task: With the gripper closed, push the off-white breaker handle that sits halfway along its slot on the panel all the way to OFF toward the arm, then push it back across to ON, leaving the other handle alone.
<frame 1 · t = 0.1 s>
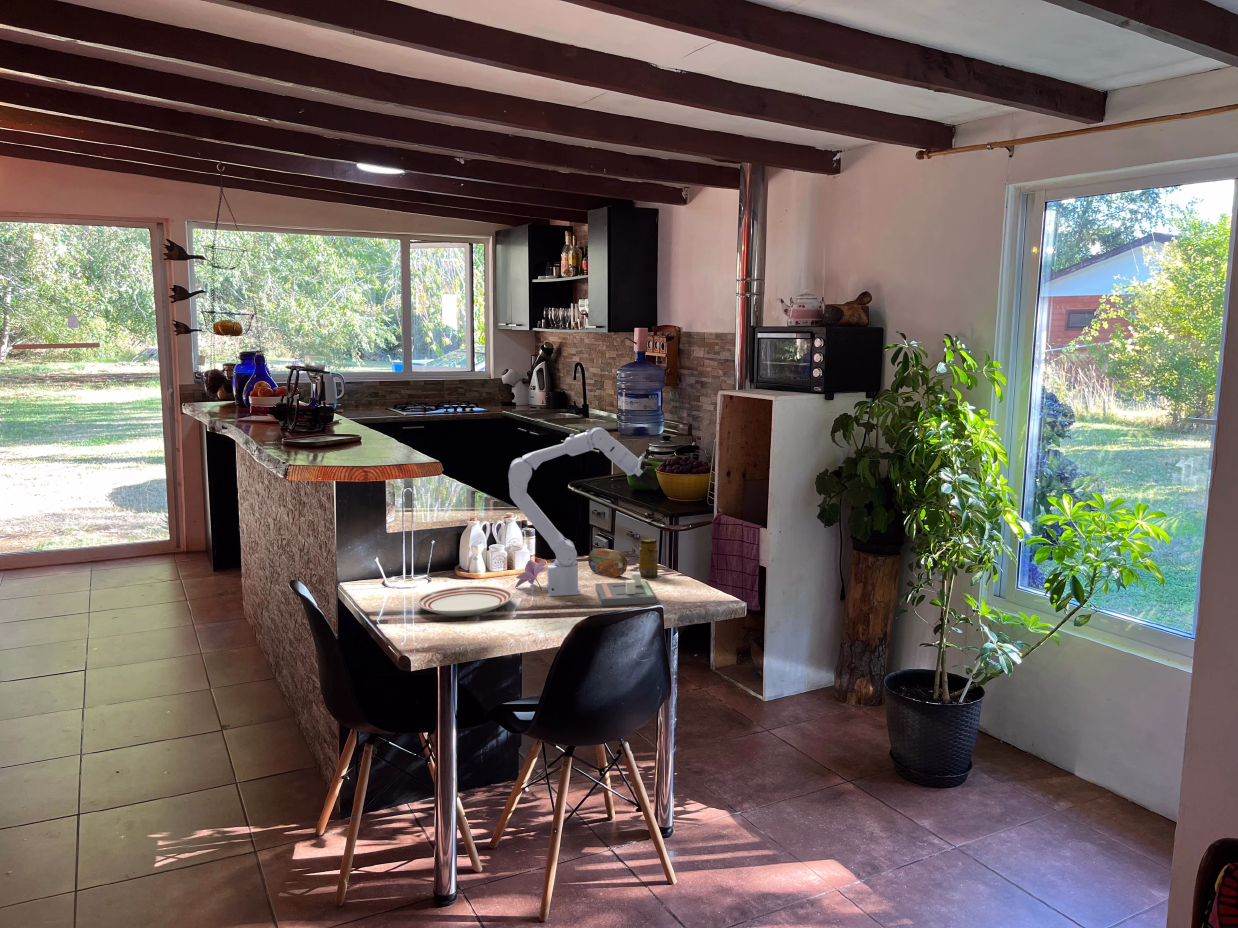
hand: (655, 485, 280), 32 cm above the table, tool tilted 50°, fingers open, 7 cm apart
dinner plate: (465, 608, 268), on the table
breaker panel: (625, 596, 276), on the table
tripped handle: (630, 586, 271), point 4 cm above the table, slide at 3.0 cm
tin: (608, 575, 302), on the table
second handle: (636, 578, 280), point 4 cm above the table, slide at 6.0 cm
condiment: (649, 577, 298), on the table
lily: (532, 588, 287), on the table
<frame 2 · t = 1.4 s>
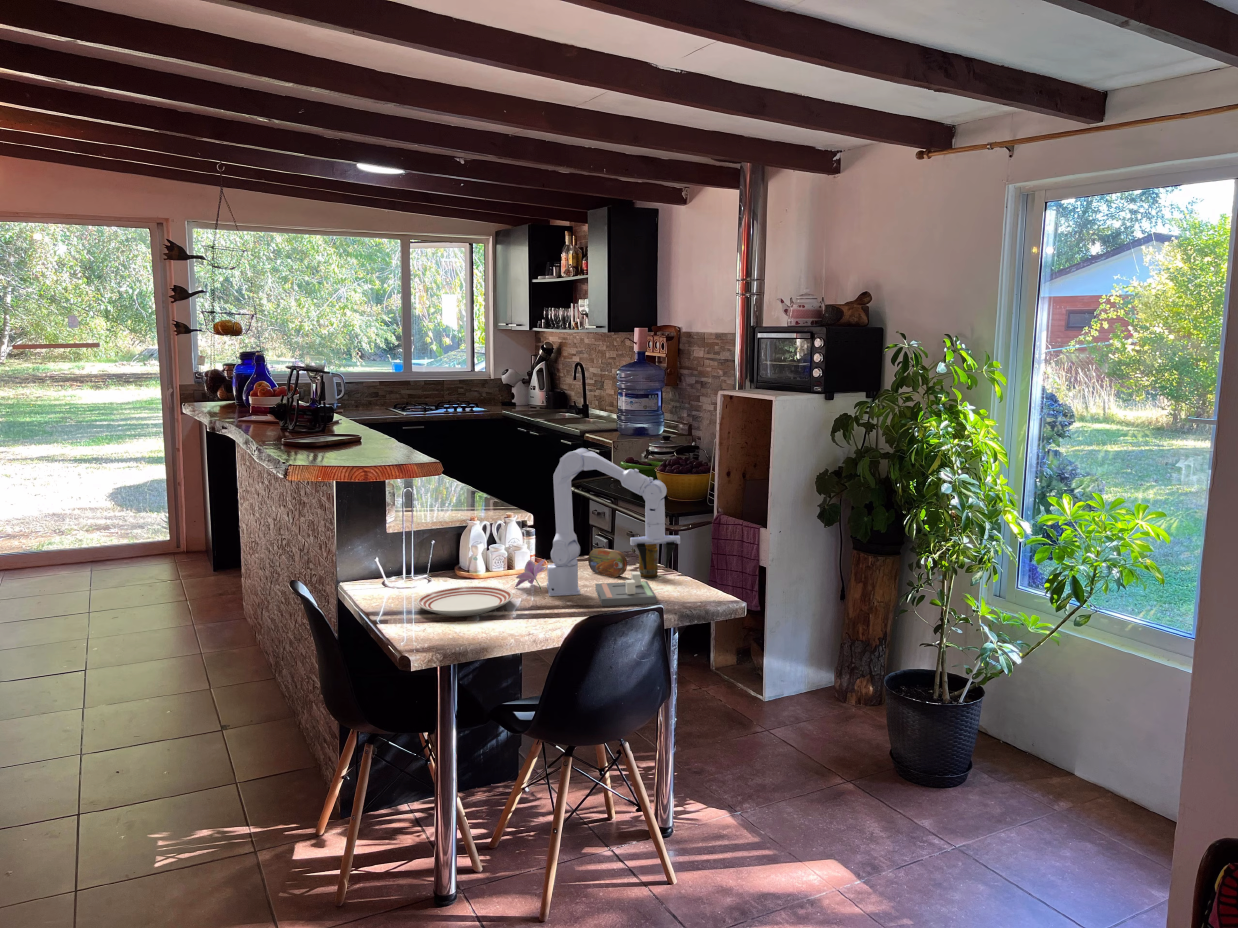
hand: (655, 567, 271), 9 cm above the table, tool pointing down, fingers open, 6 cm apart
nothing on the table moved.
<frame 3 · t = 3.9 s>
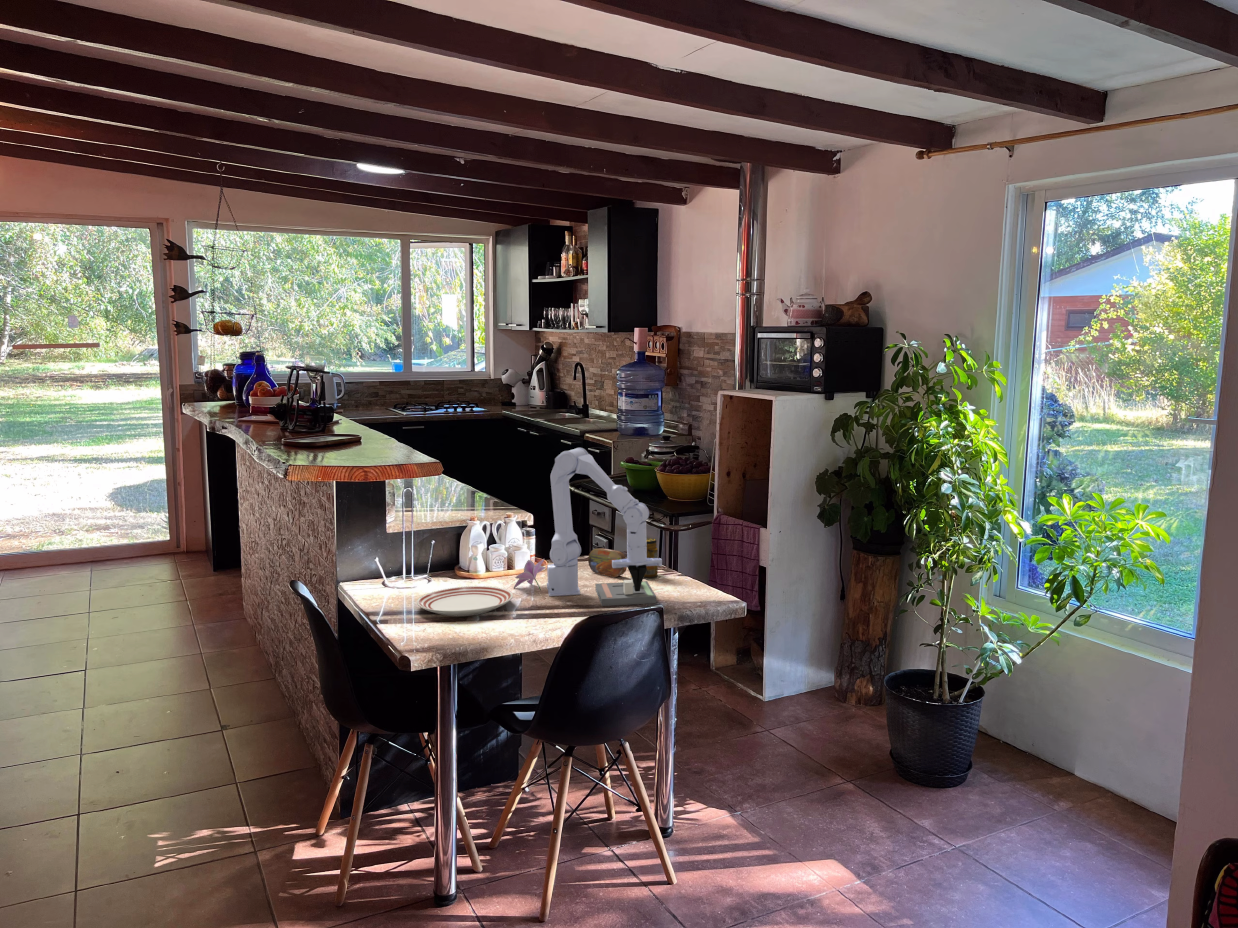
hand: (637, 590, 271), 3 cm above the table, tool pointing down, fingers closed
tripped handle: (628, 587, 271), point 4 cm above the table, slide at 2.3 cm, touching gripper
everything else where it was.
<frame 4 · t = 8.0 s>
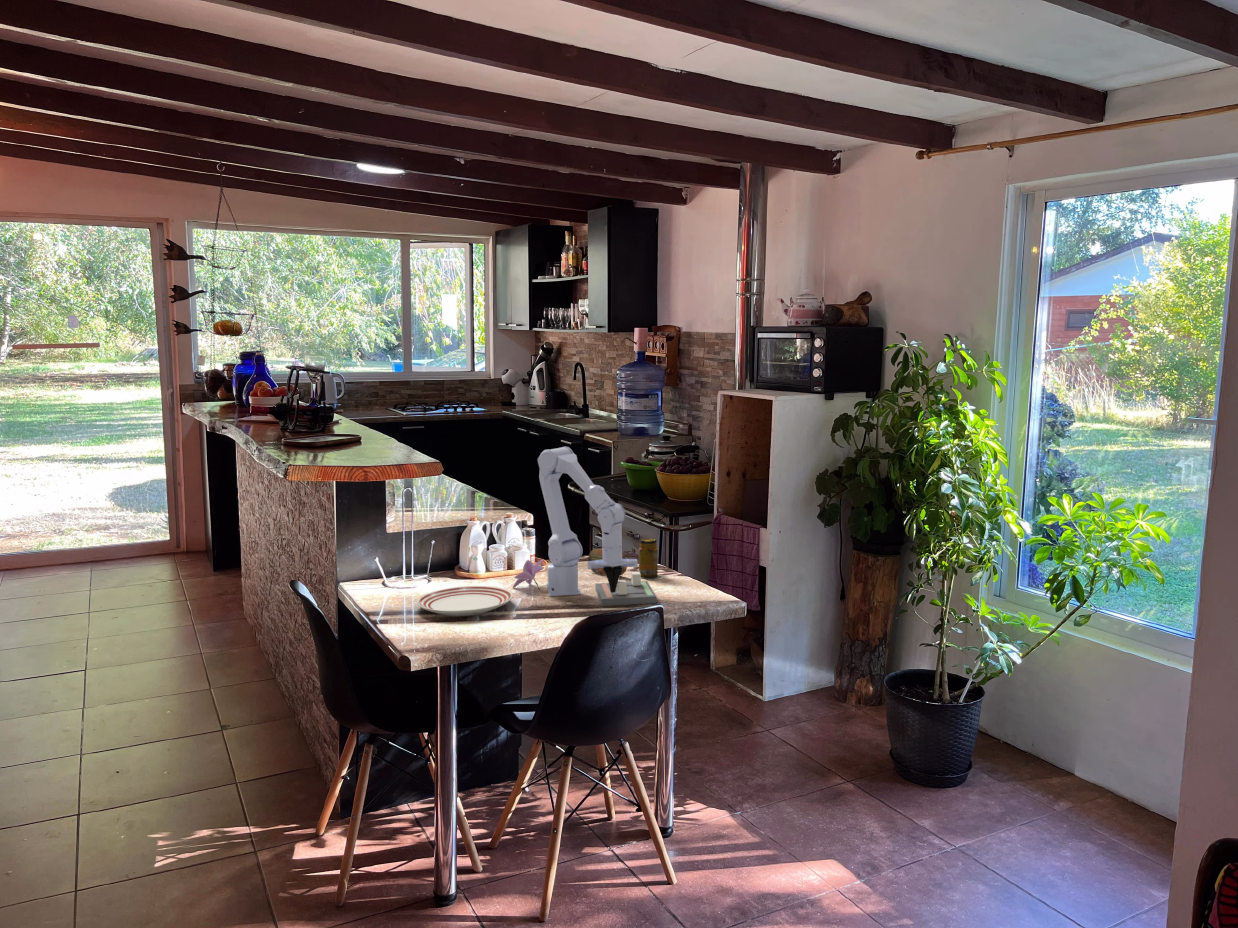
hand: (612, 591, 270), 3 cm above the table, tool pointing down, fingers closed
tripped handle: (621, 587, 271), point 4 cm above the table, slide at 0.5 cm, touching gripper
everything else where it was.
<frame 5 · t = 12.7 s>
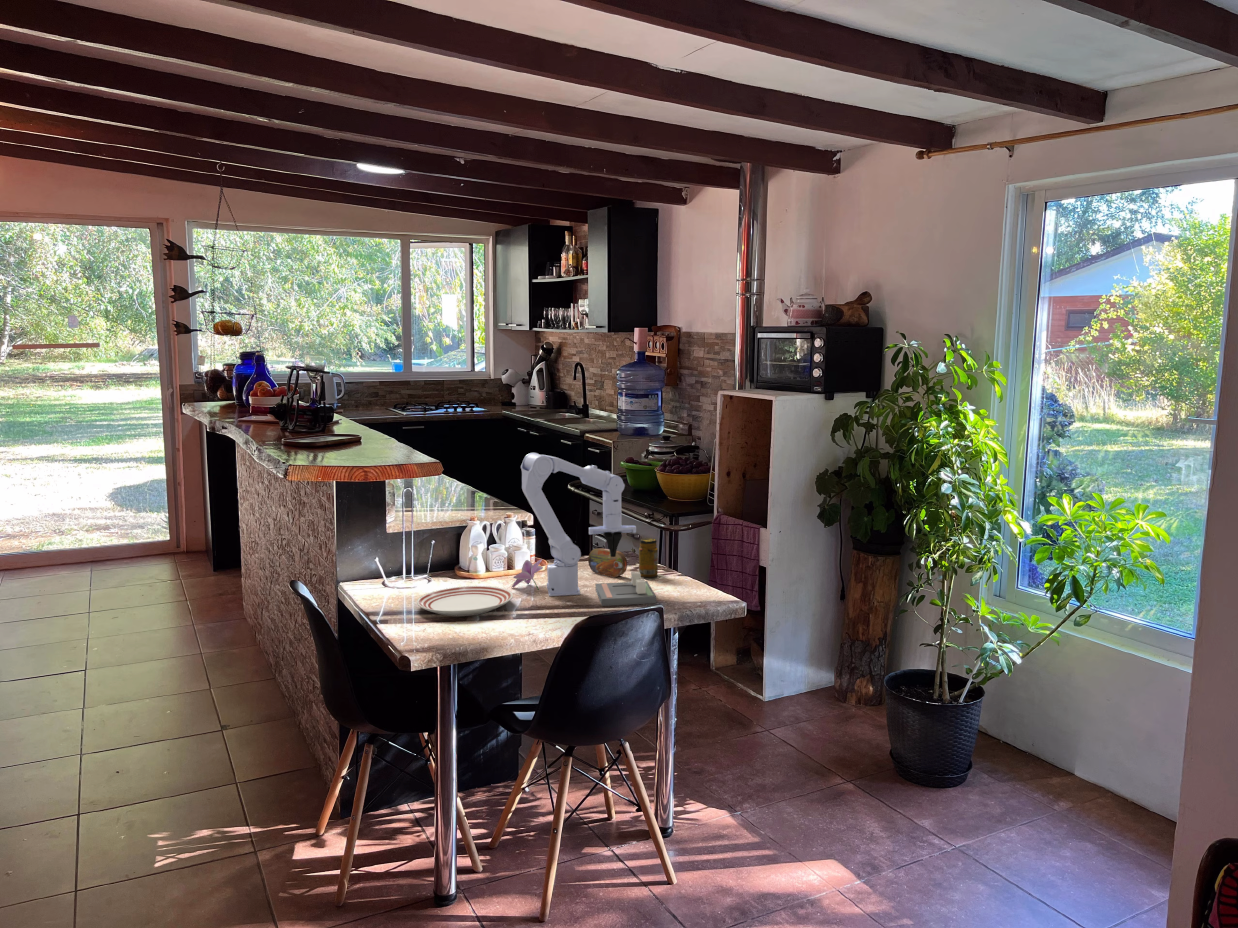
hand: (612, 556, 287), 9 cm above the table, tool pointing down, fingers closed
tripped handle: (640, 586, 271), point 4 cm above the table, slide at 6.1 cm
at the end: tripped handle slide at 6.1 cm; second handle slide at 6.0 cm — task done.
